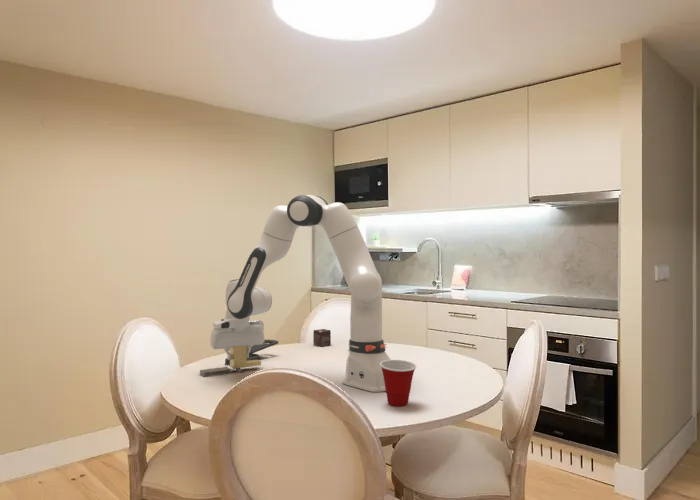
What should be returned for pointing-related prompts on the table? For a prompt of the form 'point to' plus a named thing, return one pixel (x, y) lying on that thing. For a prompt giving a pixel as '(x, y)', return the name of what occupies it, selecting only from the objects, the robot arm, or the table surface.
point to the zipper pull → (256, 350)
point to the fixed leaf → (217, 371)
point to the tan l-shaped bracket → (241, 358)
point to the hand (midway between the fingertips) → (238, 358)
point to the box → (322, 337)
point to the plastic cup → (397, 380)
